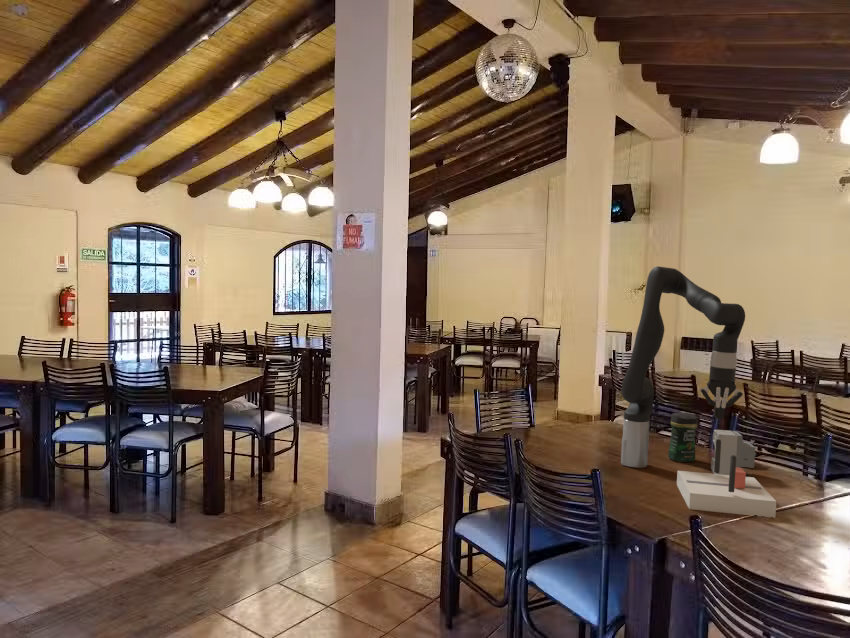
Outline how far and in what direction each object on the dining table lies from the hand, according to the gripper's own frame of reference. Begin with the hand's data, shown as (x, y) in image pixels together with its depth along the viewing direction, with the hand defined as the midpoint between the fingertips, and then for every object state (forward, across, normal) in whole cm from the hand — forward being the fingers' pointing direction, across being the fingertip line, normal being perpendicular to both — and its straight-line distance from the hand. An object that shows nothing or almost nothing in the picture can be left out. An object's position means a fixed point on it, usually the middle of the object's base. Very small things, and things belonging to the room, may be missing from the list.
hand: (718, 418), depth 205 cm
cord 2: (+20, +2, -13) cm, 24 cm away
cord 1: (+20, +2, +7) cm, 22 cm away
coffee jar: (+26, -3, +43) cm, 50 cm away
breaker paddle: (+20, +6, -3) cm, 21 cm away
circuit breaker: (+26, +13, +30) cm, 42 cm away
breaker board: (+26, +2, -3) cm, 26 cm away
